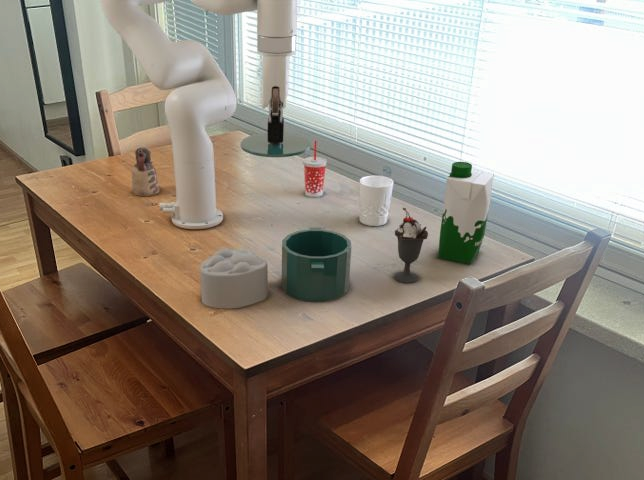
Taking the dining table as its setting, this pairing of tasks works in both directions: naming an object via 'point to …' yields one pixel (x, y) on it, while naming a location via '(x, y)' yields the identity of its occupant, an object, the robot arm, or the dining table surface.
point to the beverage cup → (314, 174)
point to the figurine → (144, 174)
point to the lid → (275, 145)
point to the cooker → (315, 264)
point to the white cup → (375, 199)
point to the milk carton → (464, 213)
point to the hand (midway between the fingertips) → (275, 139)
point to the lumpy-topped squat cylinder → (233, 279)
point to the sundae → (409, 246)
